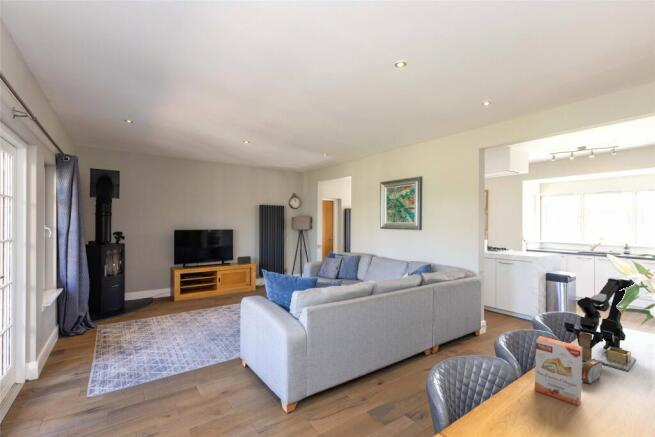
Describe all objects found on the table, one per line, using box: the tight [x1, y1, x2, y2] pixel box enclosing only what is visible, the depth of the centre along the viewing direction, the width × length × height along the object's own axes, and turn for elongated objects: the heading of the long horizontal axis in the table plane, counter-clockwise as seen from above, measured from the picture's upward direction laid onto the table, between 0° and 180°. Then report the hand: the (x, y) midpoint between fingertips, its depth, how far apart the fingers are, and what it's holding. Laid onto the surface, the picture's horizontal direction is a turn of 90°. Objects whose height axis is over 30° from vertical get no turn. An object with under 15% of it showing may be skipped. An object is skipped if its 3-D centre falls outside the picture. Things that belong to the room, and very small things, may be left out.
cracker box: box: [534, 335, 583, 407], centre depth 121 cm, size 14×6×21 cm, turn 44°
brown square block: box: [578, 332, 593, 362], centre depth 152 cm, size 4×4×12 cm
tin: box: [581, 358, 603, 385], centre depth 133 cm, size 15×3×8 cm, turn 120°
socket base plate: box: [597, 346, 637, 372], centre depth 152 cm, size 20×11×5 cm, turn 128°
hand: (584, 346), depth 151 cm, fingers closed on brown square block, 4 cm apart
